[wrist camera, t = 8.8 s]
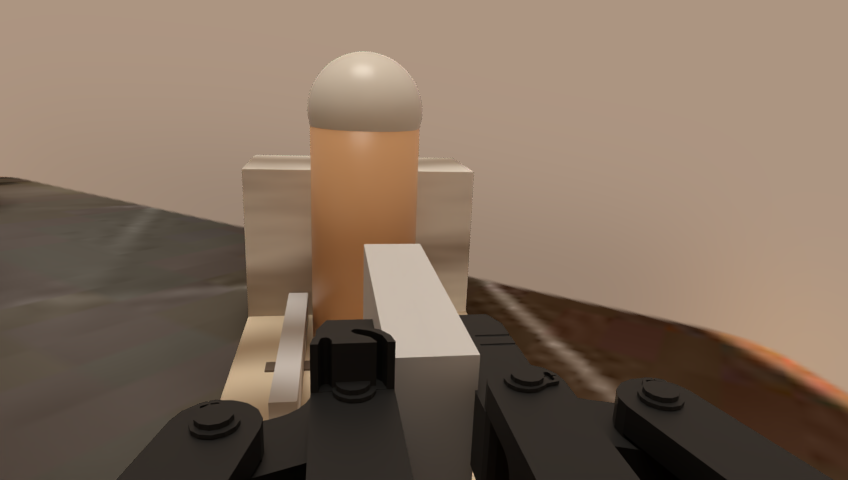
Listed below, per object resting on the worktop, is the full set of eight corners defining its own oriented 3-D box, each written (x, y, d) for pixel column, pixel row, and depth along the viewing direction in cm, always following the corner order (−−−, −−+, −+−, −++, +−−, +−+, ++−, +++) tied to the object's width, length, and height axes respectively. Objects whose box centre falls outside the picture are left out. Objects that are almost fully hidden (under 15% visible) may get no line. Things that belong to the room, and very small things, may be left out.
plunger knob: (421, 354, 28) (433, 52, 24) (309, 357, 27) (304, 46, 23) (407, 311, 33) (415, 55, 29) (312, 314, 32) (308, 51, 28)
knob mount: (555, 513, 20) (585, 247, 18) (188, 542, 18) (164, 250, 16) (446, 300, 39) (453, 158, 37) (260, 304, 37) (255, 154, 35)
